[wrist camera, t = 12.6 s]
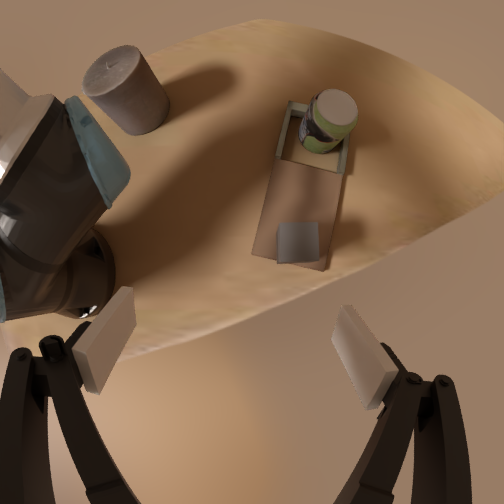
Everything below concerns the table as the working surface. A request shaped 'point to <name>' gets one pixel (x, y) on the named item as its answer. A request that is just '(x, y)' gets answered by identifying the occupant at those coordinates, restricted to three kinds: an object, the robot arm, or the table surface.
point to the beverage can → (327, 120)
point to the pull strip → (299, 207)
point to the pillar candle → (127, 90)
